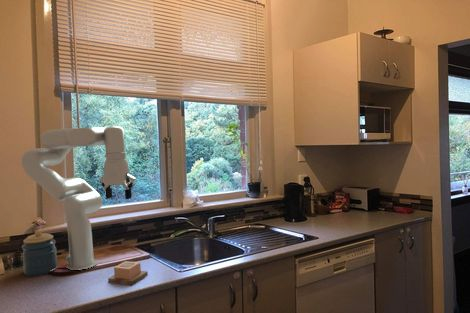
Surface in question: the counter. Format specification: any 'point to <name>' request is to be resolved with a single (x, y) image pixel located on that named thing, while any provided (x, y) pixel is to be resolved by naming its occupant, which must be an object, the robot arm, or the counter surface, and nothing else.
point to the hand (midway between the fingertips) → (118, 198)
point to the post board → (128, 281)
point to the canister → (39, 254)
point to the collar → (127, 270)
